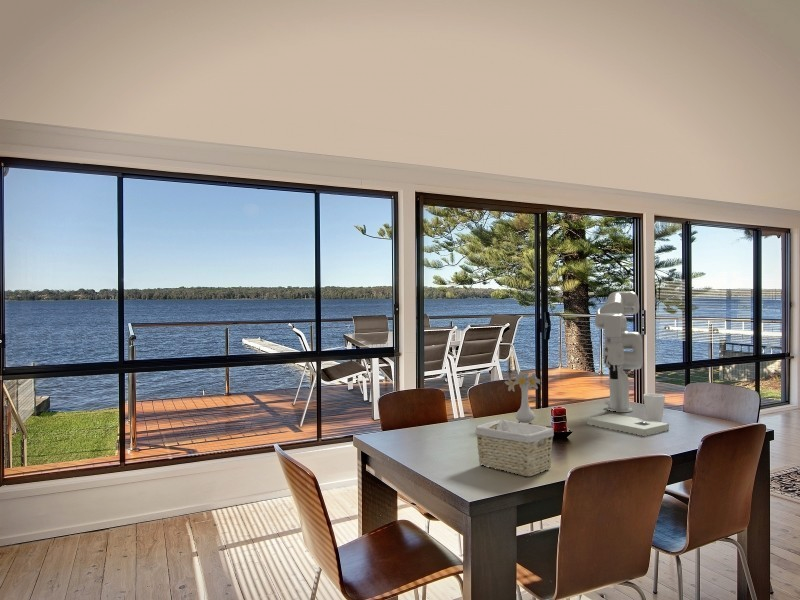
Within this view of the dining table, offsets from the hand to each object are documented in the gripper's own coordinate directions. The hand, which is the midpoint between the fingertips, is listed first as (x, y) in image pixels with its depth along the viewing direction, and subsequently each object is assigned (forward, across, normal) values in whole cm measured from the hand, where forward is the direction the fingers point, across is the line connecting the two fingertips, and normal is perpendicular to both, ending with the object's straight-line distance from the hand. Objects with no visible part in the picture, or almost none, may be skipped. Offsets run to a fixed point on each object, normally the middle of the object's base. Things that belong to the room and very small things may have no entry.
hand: (614, 378), depth 266 cm
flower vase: (+21, -32, +27) cm, 47 cm away
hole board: (+21, -2, -8) cm, 23 cm away
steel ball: (+19, -2, -16) cm, 25 cm away
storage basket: (+20, -88, -23) cm, 93 cm away
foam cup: (+22, +18, -9) cm, 30 cm away
